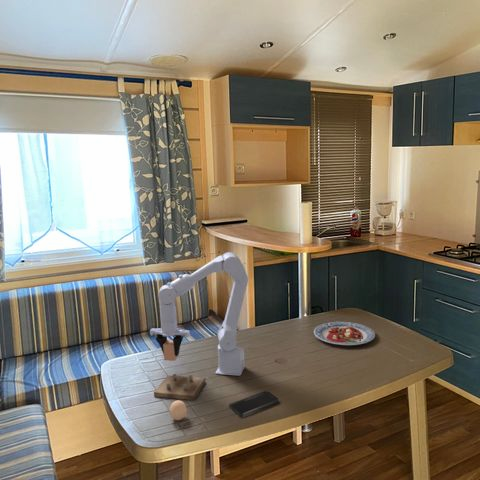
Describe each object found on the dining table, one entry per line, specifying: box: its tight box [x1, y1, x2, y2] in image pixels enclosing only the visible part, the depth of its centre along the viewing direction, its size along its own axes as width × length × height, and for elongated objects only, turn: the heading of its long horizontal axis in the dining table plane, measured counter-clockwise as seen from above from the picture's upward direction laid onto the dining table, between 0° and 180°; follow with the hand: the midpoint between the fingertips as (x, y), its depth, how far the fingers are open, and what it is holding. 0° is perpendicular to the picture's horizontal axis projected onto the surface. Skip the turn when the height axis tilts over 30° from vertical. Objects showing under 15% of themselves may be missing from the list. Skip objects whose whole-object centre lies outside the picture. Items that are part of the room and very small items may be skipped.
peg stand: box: [153, 373, 206, 401], centre depth 149 cm, size 14×12×4 cm
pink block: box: [163, 339, 180, 362], centre depth 157 cm, size 4×4×6 cm
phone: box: [229, 390, 280, 418], centre depth 138 cm, size 8×1×15 cm
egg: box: [169, 399, 188, 421], centre depth 131 cm, size 5×5×6 cm
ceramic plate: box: [313, 321, 376, 346], centre depth 188 cm, size 26×26×3 cm
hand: (171, 354), depth 158 cm, fingers closed on pink block, 4 cm apart
